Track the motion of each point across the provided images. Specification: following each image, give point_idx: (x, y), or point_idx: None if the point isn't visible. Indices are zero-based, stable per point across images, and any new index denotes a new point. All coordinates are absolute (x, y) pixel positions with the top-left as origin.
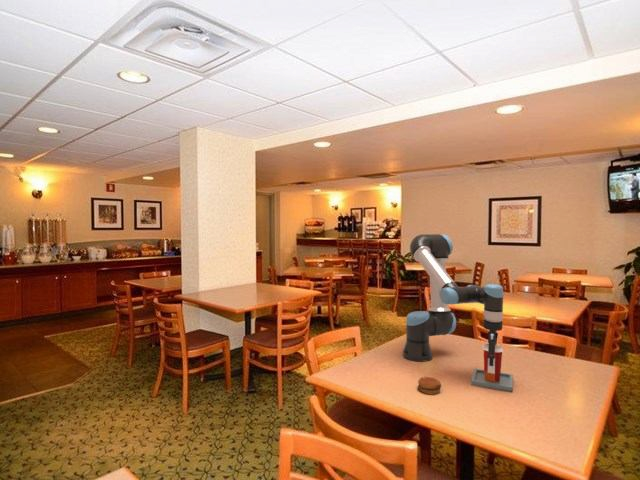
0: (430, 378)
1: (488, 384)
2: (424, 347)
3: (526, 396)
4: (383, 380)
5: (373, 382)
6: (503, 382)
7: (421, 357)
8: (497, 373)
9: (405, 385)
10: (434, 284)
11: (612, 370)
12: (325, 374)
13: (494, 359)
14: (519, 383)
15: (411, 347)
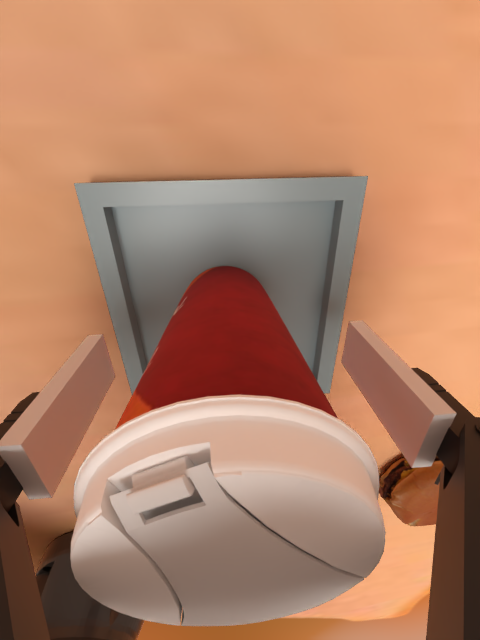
0: (428, 510)
1: (339, 317)
2: (111, 610)
3: (397, 68)
4: None
5: (395, 560)
6: (236, 240)
7: None
8: (268, 298)
9: (396, 516)
10: None
11: None
12: (374, 613)
13: (444, 407)
14: (156, 126)
15: (142, 624)
